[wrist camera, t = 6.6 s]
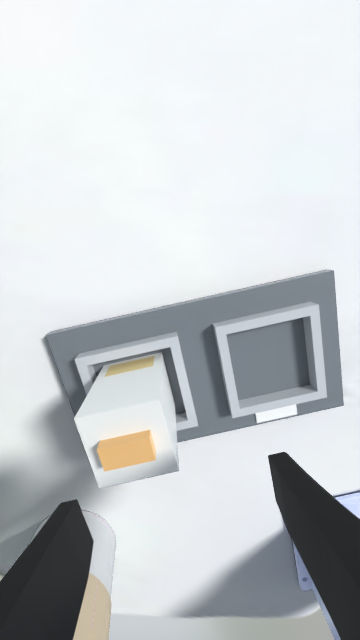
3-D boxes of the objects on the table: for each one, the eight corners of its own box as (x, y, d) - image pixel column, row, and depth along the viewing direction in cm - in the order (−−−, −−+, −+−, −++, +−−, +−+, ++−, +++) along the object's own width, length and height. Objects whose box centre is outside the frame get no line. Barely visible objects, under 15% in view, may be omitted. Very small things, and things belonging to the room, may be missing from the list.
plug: (174, 404, 19) (179, 480, 13) (119, 416, 19) (96, 499, 13) (161, 352, 18) (159, 406, 12) (103, 365, 18) (69, 427, 12)
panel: (337, 399, 20) (352, 413, 19) (94, 453, 21) (87, 472, 19) (326, 269, 18) (343, 271, 16) (50, 331, 18) (38, 339, 16)
